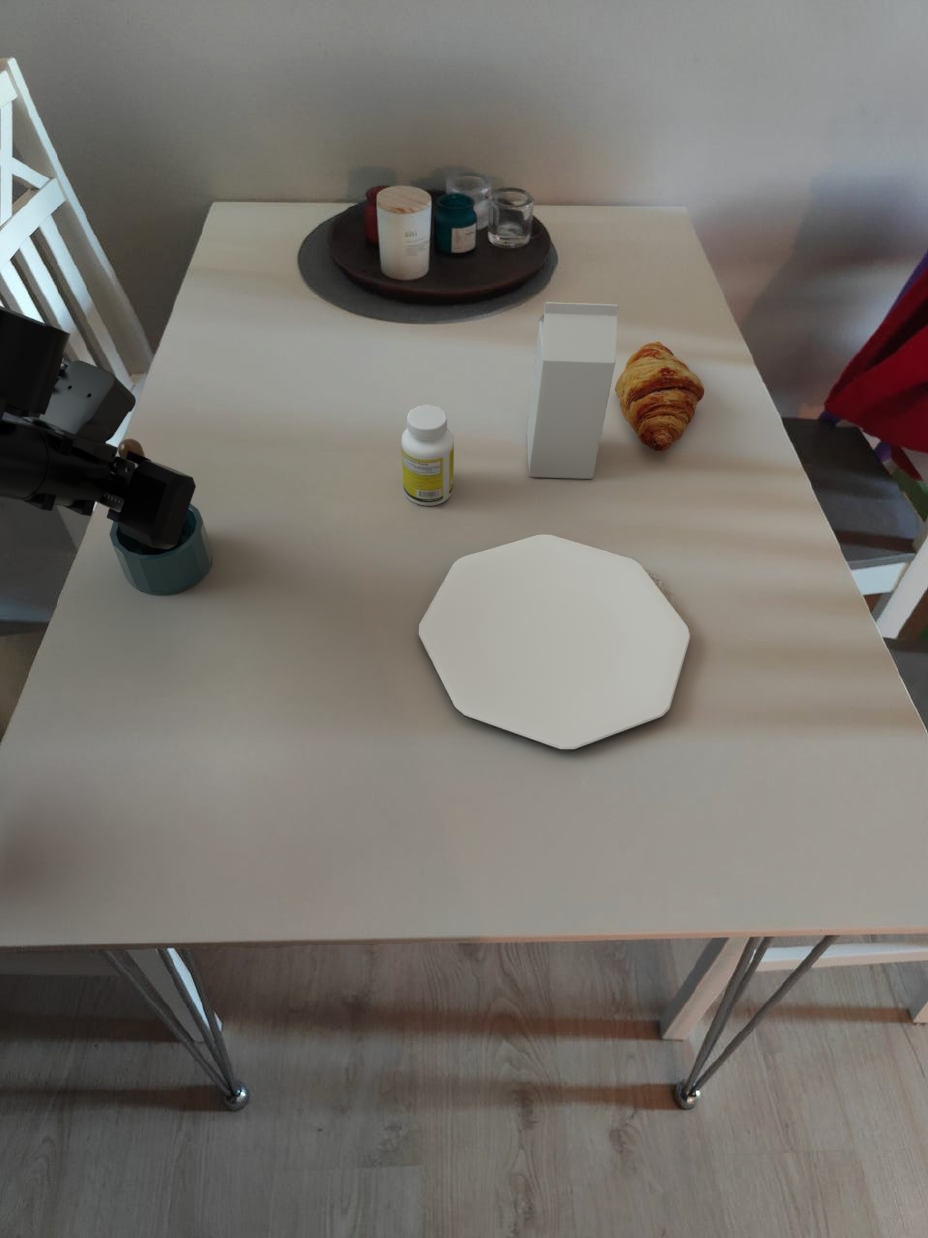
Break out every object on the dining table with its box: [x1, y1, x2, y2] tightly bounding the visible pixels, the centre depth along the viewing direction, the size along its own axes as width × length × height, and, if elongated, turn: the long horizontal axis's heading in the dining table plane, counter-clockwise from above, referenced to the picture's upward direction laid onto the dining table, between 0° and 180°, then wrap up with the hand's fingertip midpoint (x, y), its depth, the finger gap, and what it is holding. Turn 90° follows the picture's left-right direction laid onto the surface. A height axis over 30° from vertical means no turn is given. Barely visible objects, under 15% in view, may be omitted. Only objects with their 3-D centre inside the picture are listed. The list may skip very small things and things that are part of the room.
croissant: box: [614, 340, 705, 452], centre depth 101 cm, size 21×10×8 cm, turn 174°
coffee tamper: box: [117, 438, 184, 555], centre depth 78 cm, size 4×4×13 cm
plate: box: [418, 534, 691, 751], centre depth 79 cm, size 24×24×2 cm
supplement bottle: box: [400, 404, 455, 507], centre depth 88 cm, size 5×5×10 cm
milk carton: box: [526, 301, 620, 480], centre depth 89 cm, size 7×7×19 cm
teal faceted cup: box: [109, 502, 213, 596], centre depth 82 cm, size 8×8×5 cm
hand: (156, 487), depth 78 cm, fingers closed on coffee tamper, 2 cm apart
